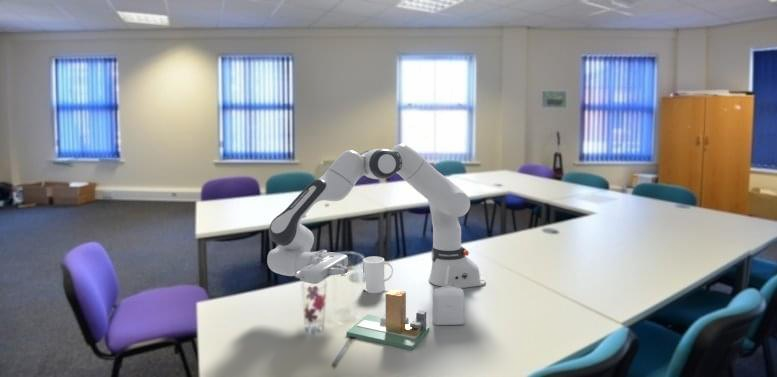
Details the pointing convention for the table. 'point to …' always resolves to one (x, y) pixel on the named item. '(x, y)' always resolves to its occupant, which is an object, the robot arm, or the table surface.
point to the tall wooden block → (398, 313)
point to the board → (376, 331)
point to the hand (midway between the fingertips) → (346, 271)
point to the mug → (375, 274)
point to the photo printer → (448, 306)
